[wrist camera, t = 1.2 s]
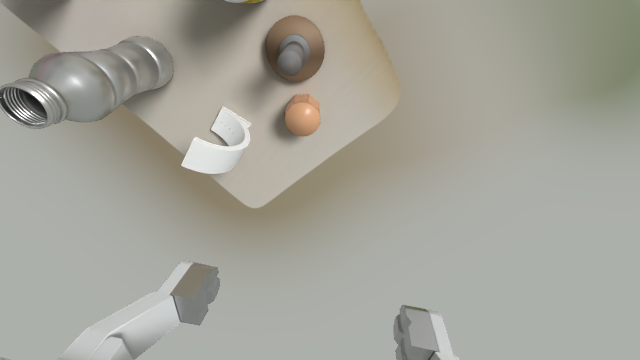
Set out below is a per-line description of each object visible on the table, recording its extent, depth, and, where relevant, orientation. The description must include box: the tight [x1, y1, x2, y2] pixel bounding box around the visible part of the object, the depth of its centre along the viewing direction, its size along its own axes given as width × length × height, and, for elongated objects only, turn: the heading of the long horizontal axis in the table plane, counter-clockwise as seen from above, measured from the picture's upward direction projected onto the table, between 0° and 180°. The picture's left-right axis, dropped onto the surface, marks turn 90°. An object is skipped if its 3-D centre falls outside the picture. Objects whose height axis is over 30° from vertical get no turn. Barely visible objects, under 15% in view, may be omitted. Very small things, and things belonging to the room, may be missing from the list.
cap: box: [285, 94, 320, 136], centre depth 39 cm, size 5×5×4 cm
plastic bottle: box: [0, 36, 174, 129], centre depth 28 cm, size 6×7×20 cm
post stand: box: [266, 16, 325, 81], centre depth 31 cm, size 8×8×12 cm
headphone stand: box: [181, 106, 251, 174], centre depth 38 cm, size 5×6×12 cm
